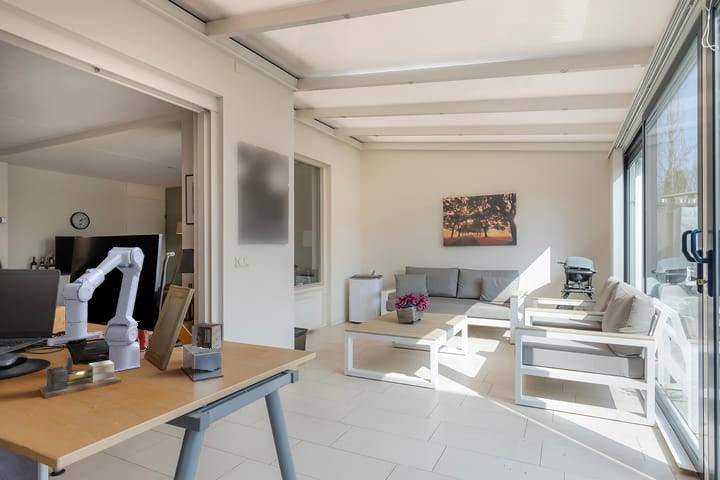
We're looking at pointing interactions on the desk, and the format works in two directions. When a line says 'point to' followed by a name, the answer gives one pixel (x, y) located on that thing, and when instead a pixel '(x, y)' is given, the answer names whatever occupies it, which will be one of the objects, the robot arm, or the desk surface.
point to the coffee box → (207, 335)
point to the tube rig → (60, 386)
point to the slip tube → (78, 374)
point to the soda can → (142, 339)
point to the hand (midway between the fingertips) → (75, 364)
